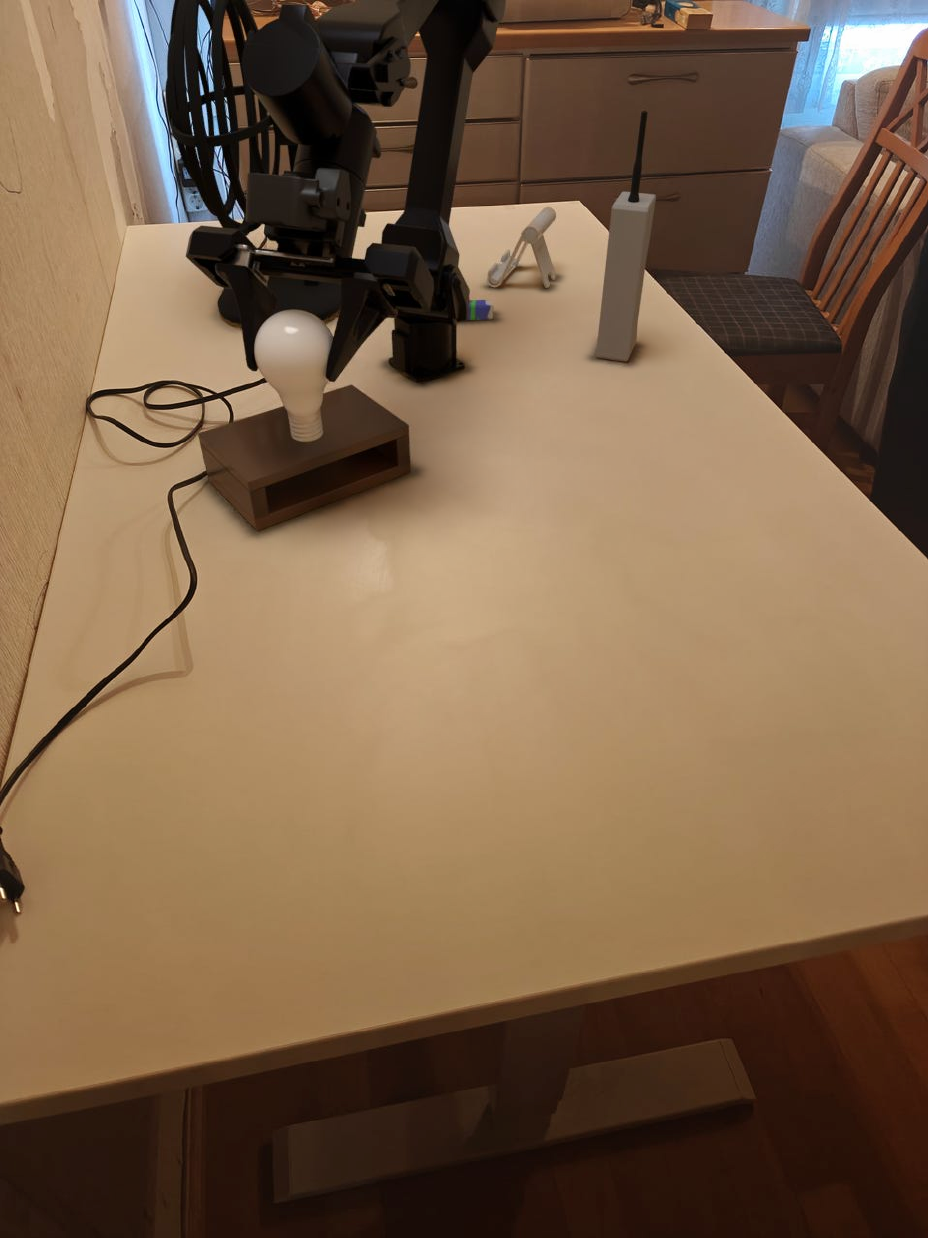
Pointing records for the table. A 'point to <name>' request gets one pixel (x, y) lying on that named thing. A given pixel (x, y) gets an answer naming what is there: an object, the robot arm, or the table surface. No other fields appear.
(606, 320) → the vintage mobile phone
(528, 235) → the tablet stand
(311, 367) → the lightbulb
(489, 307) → the eraser
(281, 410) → the shelf
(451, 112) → the robot arm
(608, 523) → the table surface
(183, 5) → the desk fan
